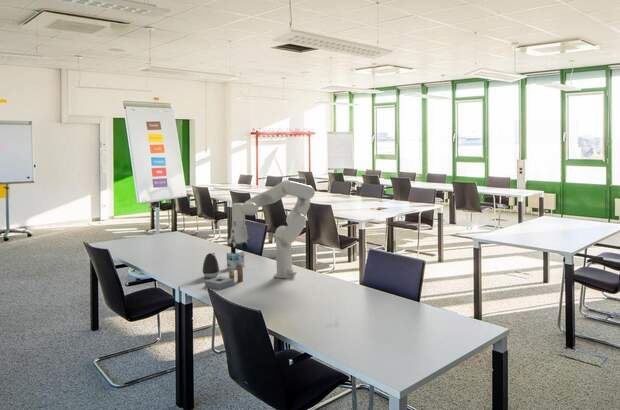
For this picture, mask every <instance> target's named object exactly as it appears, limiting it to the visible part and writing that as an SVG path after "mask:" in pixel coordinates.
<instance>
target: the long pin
mask: <svg viewBox="0 0 620 410" xmlns="http://www.w3.org/2000/svg"><path fill="white" fill-rule="evenodd" d="M243 268H244V267H243V265H242V263H237V269H236V270H237V271H236V272H237V273H236V275H237V282H238V283H242V282H243V281H244V277H243V276H244V275H243V272H244V271H243Z"/></svg>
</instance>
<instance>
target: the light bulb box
mask: <svg viewBox="0 0 620 410" xmlns="http://www.w3.org/2000/svg"><path fill="white" fill-rule="evenodd" d="M237 263H242V265H243V268H244V267H245V251H243V250H239V249H236V253H235V254H233V253H231V251H227V252H226V268H227V269H229V270H237Z"/></svg>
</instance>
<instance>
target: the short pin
mask: <svg viewBox="0 0 620 410" xmlns="http://www.w3.org/2000/svg"><path fill="white" fill-rule="evenodd" d="M228 278H231V279H234V280H235V269H229V270H228Z"/></svg>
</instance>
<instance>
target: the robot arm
mask: <svg viewBox="0 0 620 410" xmlns="http://www.w3.org/2000/svg"><path fill="white" fill-rule="evenodd" d="M315 192H316V191H315V189H314V187H312V185H307V184H305V183H299V182H296V181H293V180H287V179H286V180H283V181H281V182H280V183H278V184H276V185H274V186H273V187H271V188H269V189H268V190H266V191H263V192H261V193H260V194H256V195H255V196H253V197H251V198H250V199H248V200H246V201H245V202H234V203H232V204H231V219H232V220H231V231H230V238H228V239H227V243H228V245H229V247H230V252H231V253H233V254H235V253H236V250H237V249H236V245H237V244H242V245H241V246H242V250H241V251H244V252H247V251H248V243H249V240H250V236H249V235H248V229H247V225H246V216H255V215H257V214H258V212H259V208H261V207H264V206H267V205H272V204H274V203H276V202H278V201H279V200H281V199H283V198H284V197H286V196H292V197H296V198H297V200H296V203H295V204H294V206H293V208H292V210H291V211H290V212H289V213H288V215H287V216H286V219H285V221H286V223H287V226H286V225H280V226H278V227H277V228H276V229H275V231H274V238H275V247H276V253H275V254H276V256H275V257H276V273H274V277H275V278H277V279H290V278H293V277H295V276H296V275H297V271H294V268H293V258H292V257H293V253H292V251H293V246H292V244H293V243H294V242H296V240H297V238H298V237H299V236H300V234H301V233H302V231H303V230H304V228H305V226H306V224H307V218H306V214H307V213H308V211H309V209H310V207H311V199H313V198H314V196H315Z"/></svg>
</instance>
